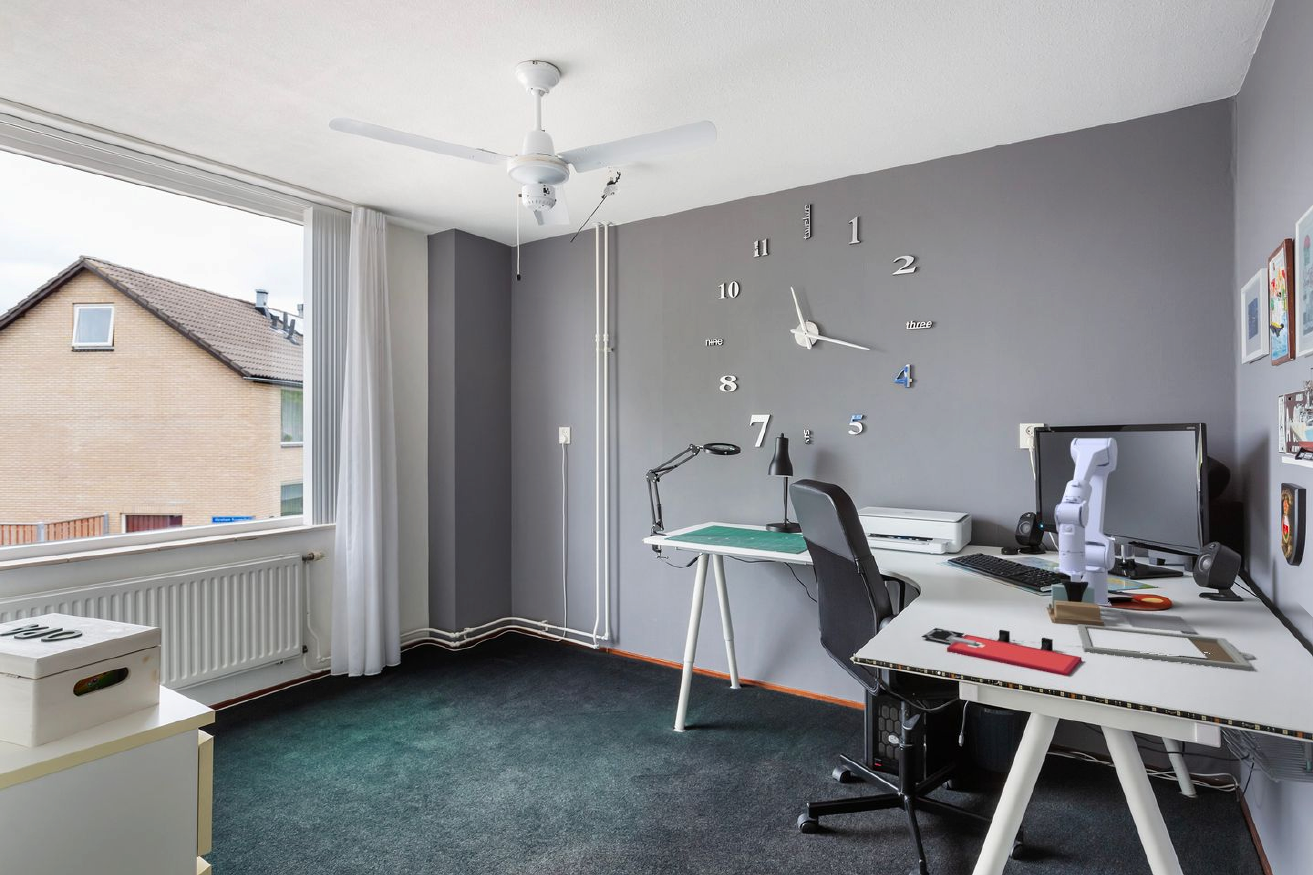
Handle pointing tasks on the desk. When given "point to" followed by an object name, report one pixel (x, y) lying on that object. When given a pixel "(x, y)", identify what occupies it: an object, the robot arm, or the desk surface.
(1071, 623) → the rack
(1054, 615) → the offcut
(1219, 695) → the desk surface
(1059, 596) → the pale teal block
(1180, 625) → the mat
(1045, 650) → the red board with handle
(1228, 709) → the desk surface
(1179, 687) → the desk surface
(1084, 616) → the offcut
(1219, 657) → the grey flat rectangular frame
